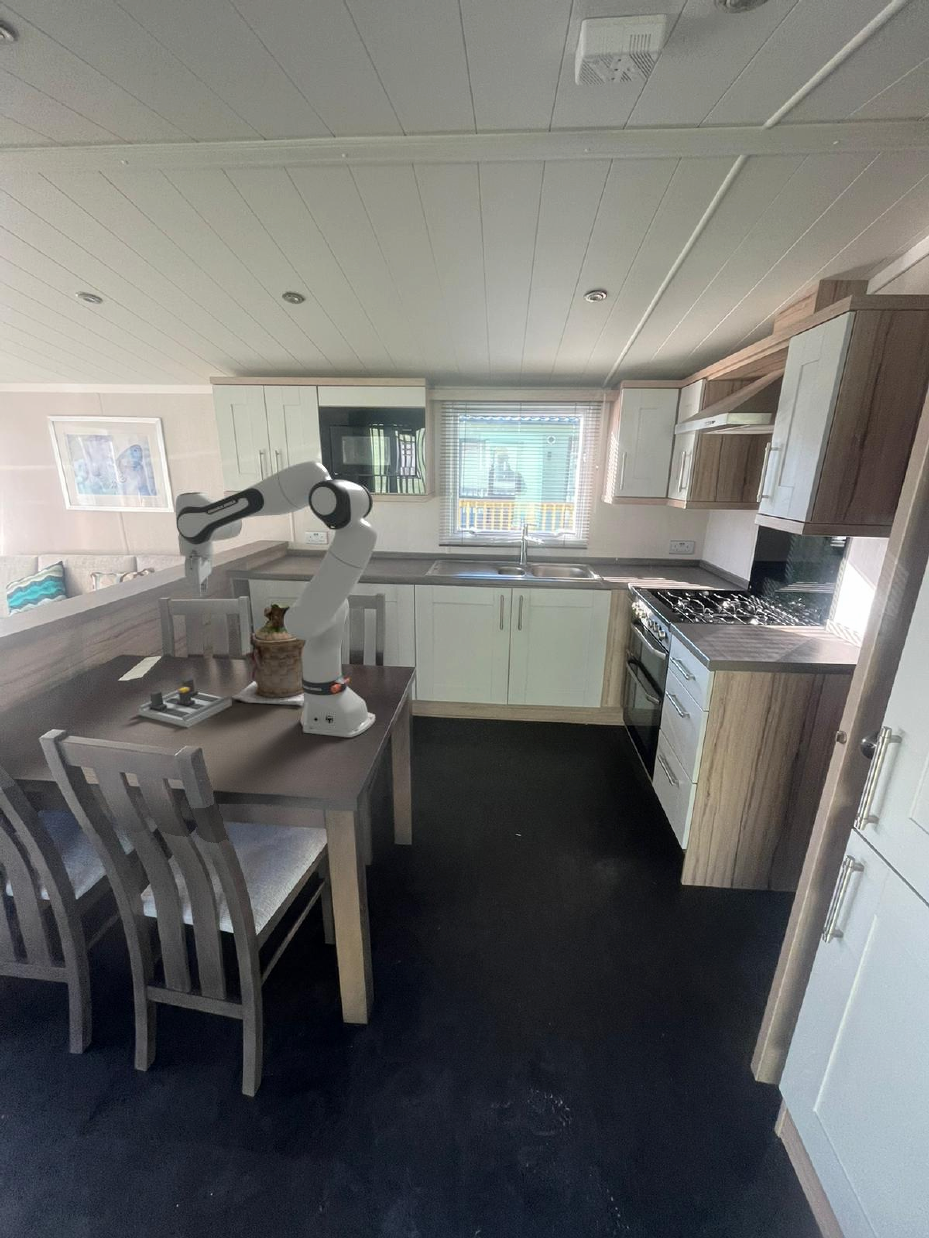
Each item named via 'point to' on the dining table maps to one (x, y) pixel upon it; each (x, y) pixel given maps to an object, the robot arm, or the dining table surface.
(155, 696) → the breaker left
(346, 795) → the dining table surface
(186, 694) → the breaker middle
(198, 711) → the panel
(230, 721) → the dining table surface
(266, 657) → the cookie jar
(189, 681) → the breaker right
